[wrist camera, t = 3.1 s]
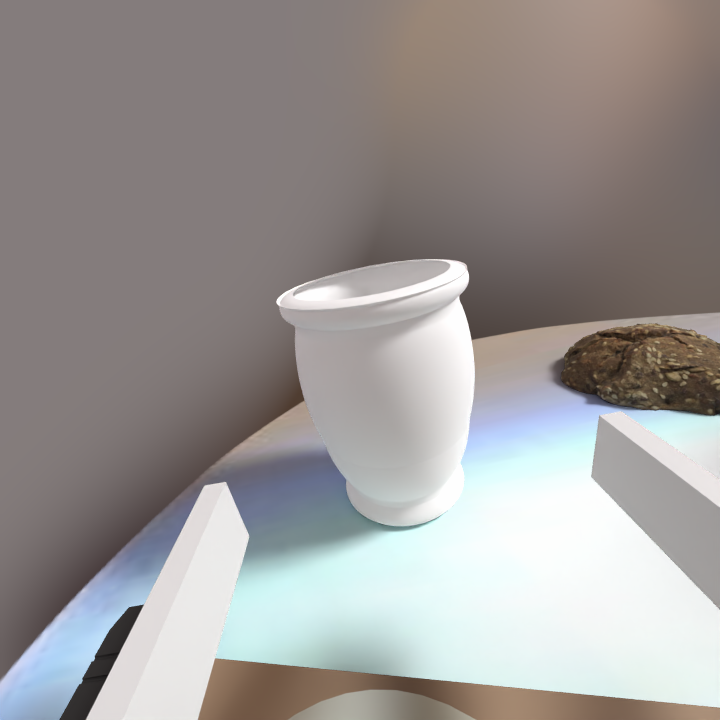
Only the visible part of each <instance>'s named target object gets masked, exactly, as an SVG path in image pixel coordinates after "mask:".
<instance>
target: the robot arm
mask: <svg viewBox="0 0 720 720" xmlns="http://www.w3.org/2000/svg"><path fill="white" fill-rule="evenodd" d="M591 477H592V478H593V479H594V480H595V481H596V482H597V483H598V484H599V485H600V487H601V488H602V489H603V490H604V491H605V492H606V493H607V494H608V495H609V496H610V497H611V498H612V499H613V500H614V501H615V502H616V503H617V504H618V505H619V506H620V507H621V508H622V509H623V510H624V511H625V512H626V513H627V514H628V515H629V516H630V517H631V518H632V520H633V521H634V522H635V523H636V524H637V525H638V526H639V527H640V528H641V529H642V530H643V531H644V532H645V533H646V534H647V535H648V536H649V537H650V538H651V539H652V540H653V541H654V542H655V543H656V544H657V545H658V546H659V547H660V548H661V549H662V550H663V551H664V553H665V554H666V555H667V556H668V557H669V558H670V559H671V560H672V561H673V562H674V563H675V564H676V565H677V566H678V567H679V568H680V569H681V570H682V571H683V572H684V573H685V574H686V575H687V576H688V577H689V578H690V579H691V580H692V581H693V582H694V583H695V584H696V586H697V587H698V588H699V589H700V590H701V591H702V592H703V593H704V594H705V595H706V596H707V597H708V598H709V599H710V600H711V601H712V602H713V603H714V604H715V605H716V606H717V607H718V608H719V609H720V479H719V478H717V477H716V476H715V475H713V474H712V473H710V472H709V471H707V470H706V469H704V468H703V467H701V466H700V465H699V464H697V463H696V462H694V461H693V460H691V459H690V458H688V457H687V456H685V455H684V454H683V453H681V452H680V451H678V450H677V449H675V448H674V447H672V446H671V445H669V444H668V443H667V442H665V441H664V440H662V439H661V438H659V437H658V436H656V435H655V434H653V433H652V432H651V431H649V430H648V429H646V428H645V427H643V426H642V425H640V424H639V423H637V422H636V421H635V420H633V419H632V418H630V417H629V416H627V415H626V414H624V413H623V412H616V413H610V414H604V415H599V421H598V429H597V436H596V444H595V452H594V459H593V467H592V475H591ZM248 540H249V534H248V532H247V530H246V527H245V525H244V523H243V520H242V518H241V516H240V514H239V511H238V509H237V507H236V504H235V502H234V500H233V497H232V495H231V493H230V491H229V488H228V486H227V484H226V482H222V483H216V484H211V485H205V486H204V487H203V489H202V491H201V493H200V495H199V497H198V499H197V501H196V503H195V505H194V507H193V509H192V511H191V513H190V515H189V517H188V519H187V521H186V523H185V525H184V527H183V529H182V531H181V533H180V535H179V537H178V539H177V541H176V543H175V545H174V547H173V549H172V551H171V553H170V555H169V557H168V559H167V560H166V562H165V564H164V566H163V568H162V570H161V572H160V574H159V576H158V578H157V580H156V582H155V584H154V586H153V588H152V590H151V592H150V594H149V596H148V598H147V600H146V602H145V604H144V605H139V606H133V607H129V608H128V609H127V610H126V611H125V613H124V614H123V615H122V616H121V617H120V619H119V620H118V621H117V622H116V623H115V624H114V626H113V627H112V628H111V629H110V630H109V632H108V634H107V636H106V637H105V639H104V641H103V643H102V645H101V646H100V648H99V650H98V652H97V653H96V655H95V660H94V661H93V662H91V664H90V666H89V668H88V670H87V671H86V673H85V675H84V677H83V681H82V683H81V684H79V686H78V687H77V689H76V691H75V693H74V695H73V696H72V698H71V700H70V702H69V704H68V705H67V707H66V709H65V711H64V713H63V714H62V716H61V718H60V720H198V717H199V713H200V709H201V706H202V702H203V699H204V695H205V692H206V688H207V685H208V681H209V678H210V674H211V671H212V667H213V664H214V660H215V657H216V653H217V650H218V646H219V642H220V639H221V635H222V632H223V628H224V625H225V621H226V618H227V614H228V611H229V607H230V604H231V600H232V597H233V593H234V590H235V586H236V582H237V579H238V575H239V572H240V568H241V565H242V561H243V558H244V554H245V551H246V547H247V544H248Z"/></svg>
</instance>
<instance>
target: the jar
mask: <svg viewBox="0 0 720 720" xmlns="http://www.w3.org/2000/svg"><path fill="white" fill-rule="evenodd" d="M468 281H469V275H468V271H467V266H466V265H465V264H464V263H462V262H459V261H454V260H436V259H435V260H434V259H433V260H431V259H427V260H409V261H399V262H392V263H385V264H379V265H373V266H367V267H362V268H357V269H353V270H349V271H345V272H341V273H337V274H334V275H330V276H326V277H323V278H320V279H317V280H314V281H311V282H308V283H305V284H303V285H300V286H298V287H295V288H293V289H291V290H289V291H287V292H286V293H284V294H282V295H281V296H280V297H279V298H278V300H277V304H278V305H279V309H280V313H281V315H282V317H283V318H284V319H285V320H286V321H287V322H289V323H290V324H292V325H294V326H295V329H296V333H295V352H296V362H297V369H298V374H299V380H300V384H301V388H302V392H303V396H304V399H305V402H306V405H307V408H308V411H309V413H310V415H311V418H312V420H313V422H314V424H315V426H316V428H317V430H318V432H319V434H320V436H321V438H322V439H323V441H324V443H325V446H326V448H327V450H328V453H329V455H330V457H331V458H332V460H333V462H334V464H335V465H336V467H337V468H338V470H339V471H340V472H341V474H342V475H343V476H344V477H345V478H346V479H347V480H346V490H347V494H348V497H349V500H350V502H351V503H352V505H353V506H354V507H355V509H356V510H357V511H358V512H360V513H361V514H362V515H363V516H365V517H367V518H368V519H370V520H372V521H375V522H378V523H381V524H385V525H391V526H412V525H417V524H422V523H425V522H428V521H430V520H433V519H435V518H437V517H439V516H440V515H442V514H444V513H445V512H446V511H448V510H449V509H450V508H451V507H452V506H453V505H454V504H455V503H456V501H457V500H458V498H459V496H460V495H461V492H462V489H463V485H464V473H463V469H462V466H461V464H460V461H461V459H462V457H463V454H464V451H465V448H466V444H467V439H468V433H469V421H470V415H471V410H472V404H473V396H474V380H475V372H474V356H473V348H472V342H471V336H470V331H469V327H468V323H467V319H466V316H465V313H464V310H463V307H462V305H461V303H460V301H459V295H460V294H461V293H462V292H463V291H464V290H465V288H466V286H467V284H468Z"/></svg>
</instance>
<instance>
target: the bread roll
mask: <svg viewBox="0 0 720 720" xmlns="http://www.w3.org/2000/svg"><path fill="white" fill-rule="evenodd" d="M564 360H565V365H564V366H565V369H564V370H563V371H562V374H561V380H562V382H563V383H564V384H565V385H567V386H569V387H571V388H573V389H575V390H578V391H580V392H584V393H588V394H596V395H598V396H599V397H600V398H601V399H603V400H605V401H607V402H610V403H612V404H617V405H620V406H629V407H635V408H639V409H643V410H648V409H650V410H659V409H660V410H680V411H689V412H694V413H699V414H704V415H715V414H719V413H720V343H717V342H715V341H713V340H711V339H709V338H707V336H705V335H699V334H697V333H696V331H694V330H686V329H682V328H676V327H671V326H668V325H659V324H637V325H635V326H628V327H616V328H611V329H607V330H603V331H598V332H597V333H594V334H592V335H588V336H586V337H583V338H582V339H581V340H579V341H578V342H577V343H575V344H574V346H573V347H570V348H569V350H568V352H567V353H566V354H565V356H564Z"/></svg>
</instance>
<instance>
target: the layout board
mask: <svg viewBox="0 0 720 720" xmlns="http://www.w3.org/2000/svg"><path fill="white" fill-rule="evenodd" d="M198 720H720V708H717V707H707V706H696V705H686V704H676V703H666V702H655V701H645V700H635V699H625V698H615V697H604V696H594V695H584V694H574V693H563V692H553V691H543V690H533V689H522V688H512V687H502V686H492V685H482V684H471V683H461V682H451V681H441V680H430V679H420V678H410V677H400V676H390V675H379V674H369V673H359V672H349V671H338V670H328V669H318V668H308V667H297V666H287V665H277V664H267V663H257V662H246V661H236V660H226V659H216V658H215V660H214V664H213V667H212V671H211V674H210V678H209V681H208V685H207V688H206V692H205V695H204V699H203V702H202V706H201V709H200V713H199V717H198Z"/></svg>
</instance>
